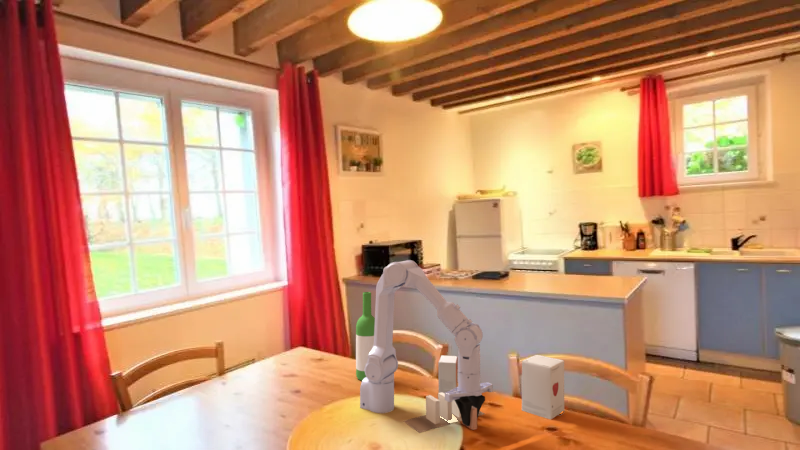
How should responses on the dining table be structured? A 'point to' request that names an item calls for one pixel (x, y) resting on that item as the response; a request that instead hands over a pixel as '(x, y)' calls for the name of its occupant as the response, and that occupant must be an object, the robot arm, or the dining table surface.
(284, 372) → the dining table surface
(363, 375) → the wine bottle
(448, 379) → the small box
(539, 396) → the supplement box
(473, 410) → the domino
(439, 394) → the domino
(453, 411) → the domino
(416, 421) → the board
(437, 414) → the domino
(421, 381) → the dining table surface
